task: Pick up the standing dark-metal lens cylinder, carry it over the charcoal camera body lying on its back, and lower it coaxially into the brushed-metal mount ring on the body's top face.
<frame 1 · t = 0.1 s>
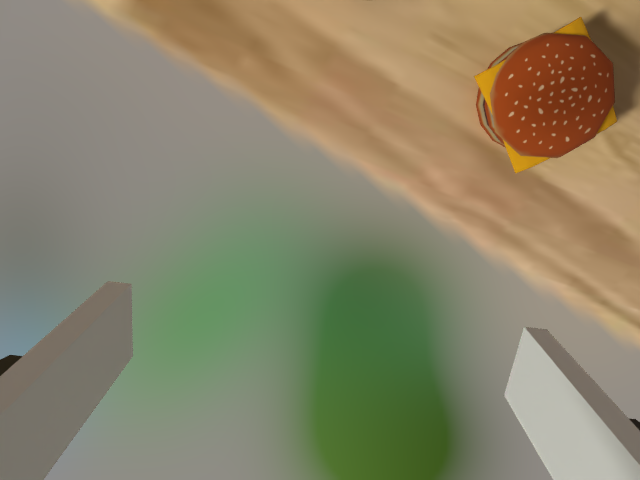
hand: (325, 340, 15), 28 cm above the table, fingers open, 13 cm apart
hamburger: (526, 98, 39), on the table
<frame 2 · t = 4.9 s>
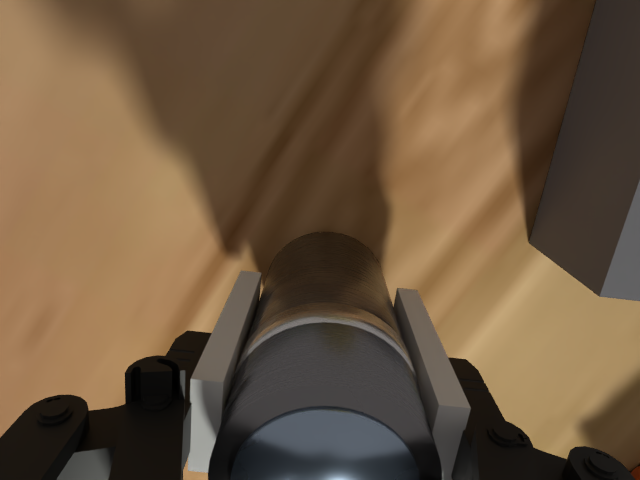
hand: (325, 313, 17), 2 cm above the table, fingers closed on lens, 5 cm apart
lens: (325, 288, 19), on the table, touching gripper
when the fingers open (9 cm above the table, at t = 9.7 s): lens drops 2 cm, resting on camera body.
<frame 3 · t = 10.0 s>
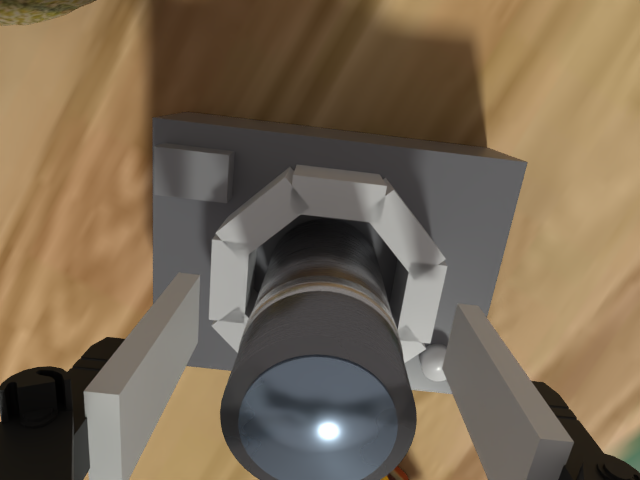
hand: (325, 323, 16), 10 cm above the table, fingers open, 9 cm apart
lens: (324, 270, 21), point 5 cm above the table, touching camera body
camera body: (325, 236, 26), on the table
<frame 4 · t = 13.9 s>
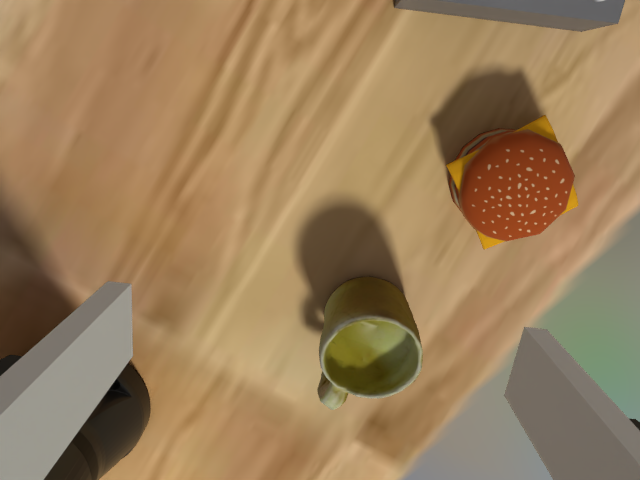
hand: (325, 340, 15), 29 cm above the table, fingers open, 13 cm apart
hamburger: (497, 177, 42), on the table
mug: (355, 324, 47), on the table
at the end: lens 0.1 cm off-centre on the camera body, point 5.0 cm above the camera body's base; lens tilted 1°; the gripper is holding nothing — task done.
